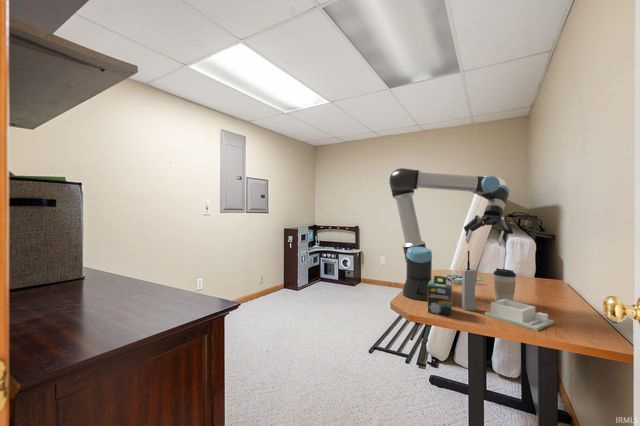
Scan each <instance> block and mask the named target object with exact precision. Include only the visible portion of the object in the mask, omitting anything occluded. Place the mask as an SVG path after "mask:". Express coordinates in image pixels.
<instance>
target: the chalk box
mask: <svg viewBox="0 0 640 426" xmlns="http://www.w3.org/2000/svg"><path fill="white" fill-rule="evenodd" d="M438 279H441V280H442V281H440V280H439V281H438ZM452 286H453V285H452V282H451V281H447V277H446V276H445V275H444V276H443V275H442V276H441V275H434V276H433V280H431V281H429V284H428V300H427V313H432V314H437V315H445V316H453V315H452V314H453V308H452V307H453V305H452V304H453V299H452V298H453V290H452V289H453V287H452Z"/></svg>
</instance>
